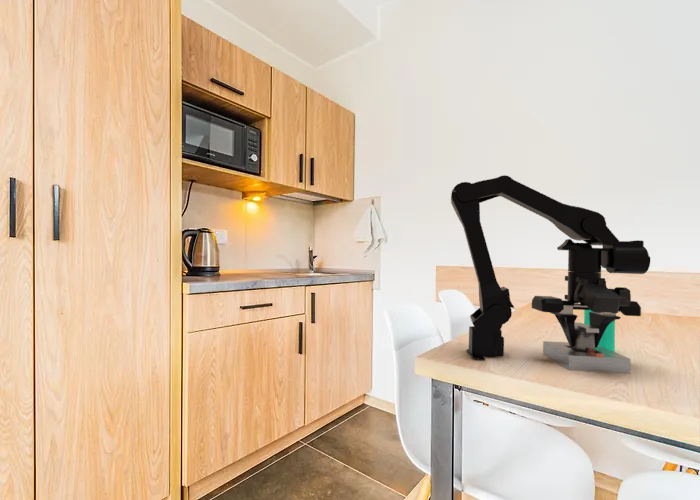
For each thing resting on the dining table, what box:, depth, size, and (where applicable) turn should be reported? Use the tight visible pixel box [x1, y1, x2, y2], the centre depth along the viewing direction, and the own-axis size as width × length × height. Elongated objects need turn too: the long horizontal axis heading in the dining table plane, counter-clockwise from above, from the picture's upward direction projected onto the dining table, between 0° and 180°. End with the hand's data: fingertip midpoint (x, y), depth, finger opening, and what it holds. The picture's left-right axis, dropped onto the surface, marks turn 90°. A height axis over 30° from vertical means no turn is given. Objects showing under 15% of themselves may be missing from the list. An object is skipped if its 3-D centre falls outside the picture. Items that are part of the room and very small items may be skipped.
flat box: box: [542, 340, 631, 375], centre depth 71 cm, size 16×16×4 cm
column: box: [572, 321, 599, 352], centre depth 71 cm, size 4×6×8 cm, turn 174°
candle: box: [583, 310, 616, 353], centre depth 82 cm, size 6×6×12 cm
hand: (583, 346), depth 71 cm, fingers closed on column, 4 cm apart
